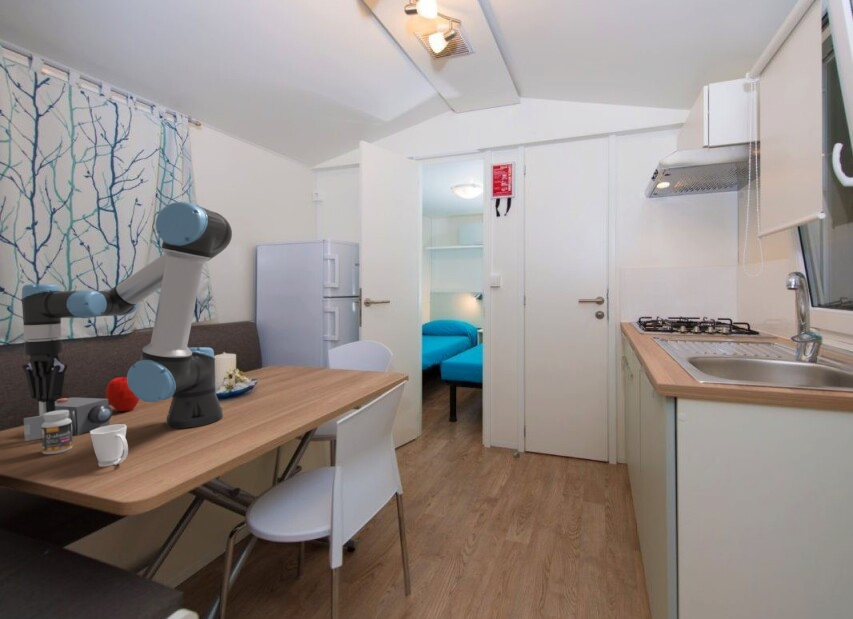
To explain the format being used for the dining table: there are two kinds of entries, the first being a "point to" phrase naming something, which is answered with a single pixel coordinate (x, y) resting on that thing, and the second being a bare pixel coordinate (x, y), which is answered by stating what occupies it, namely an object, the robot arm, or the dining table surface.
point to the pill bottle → (56, 432)
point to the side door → (34, 426)
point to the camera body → (86, 412)
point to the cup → (110, 444)
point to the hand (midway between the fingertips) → (47, 423)
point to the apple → (121, 395)
